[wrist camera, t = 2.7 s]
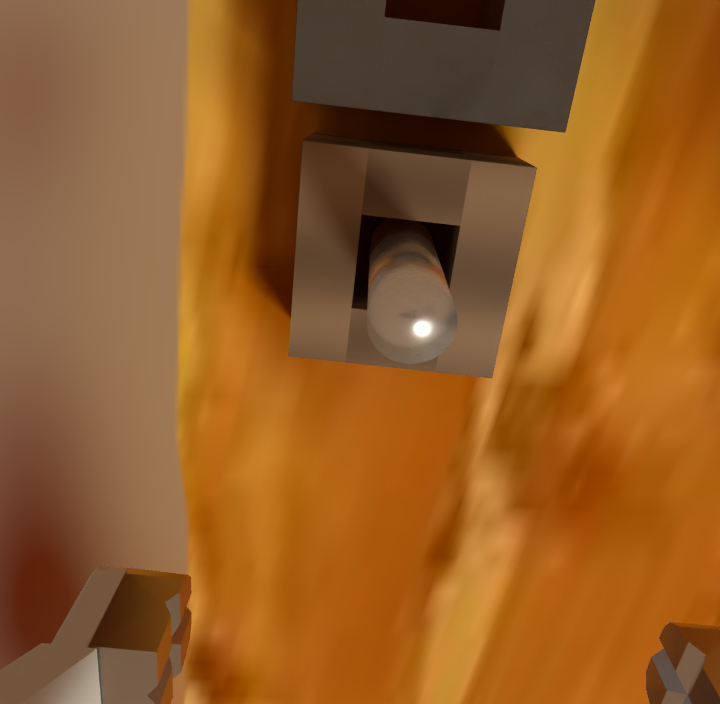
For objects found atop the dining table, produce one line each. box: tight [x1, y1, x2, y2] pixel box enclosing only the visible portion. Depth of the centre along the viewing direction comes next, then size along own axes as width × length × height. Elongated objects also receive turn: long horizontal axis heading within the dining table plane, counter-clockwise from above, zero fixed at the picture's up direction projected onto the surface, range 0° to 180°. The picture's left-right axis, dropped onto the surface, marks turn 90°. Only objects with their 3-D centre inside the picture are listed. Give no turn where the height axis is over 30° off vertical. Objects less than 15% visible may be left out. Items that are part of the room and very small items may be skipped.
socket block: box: [288, 134, 537, 378], centre depth 30 cm, size 10×10×4 cm
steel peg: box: [367, 218, 458, 364], centre depth 27 cm, size 3×3×11 cm
